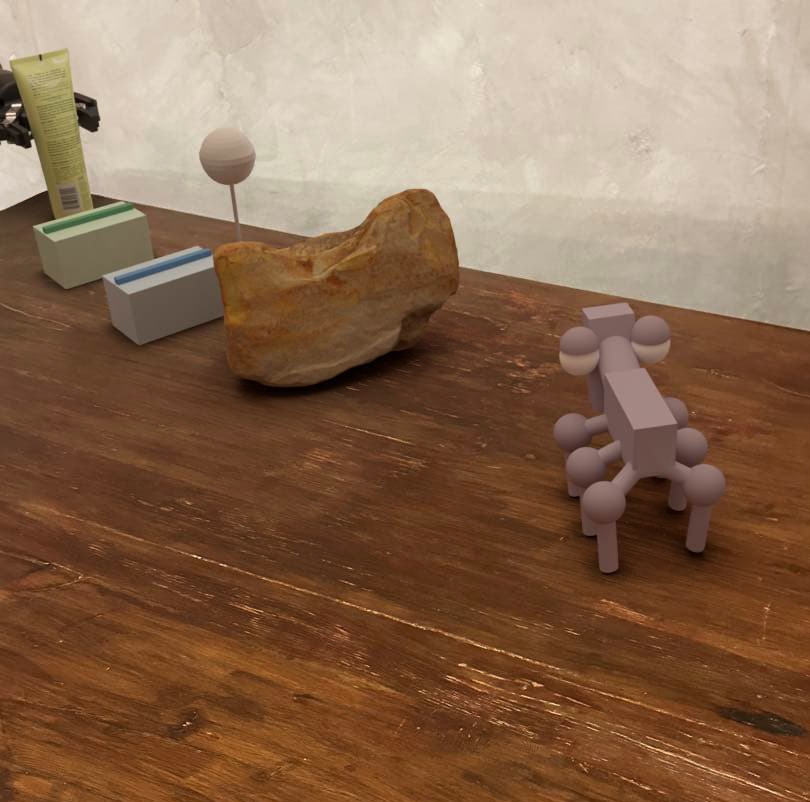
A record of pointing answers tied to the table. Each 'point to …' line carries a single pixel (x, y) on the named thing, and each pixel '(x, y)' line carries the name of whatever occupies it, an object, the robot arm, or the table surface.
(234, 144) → the lollipop
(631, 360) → the mauve legged toy figure
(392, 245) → the orange sandstone rock
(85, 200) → the tube
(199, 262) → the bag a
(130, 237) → the pale green box
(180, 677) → the table surface
